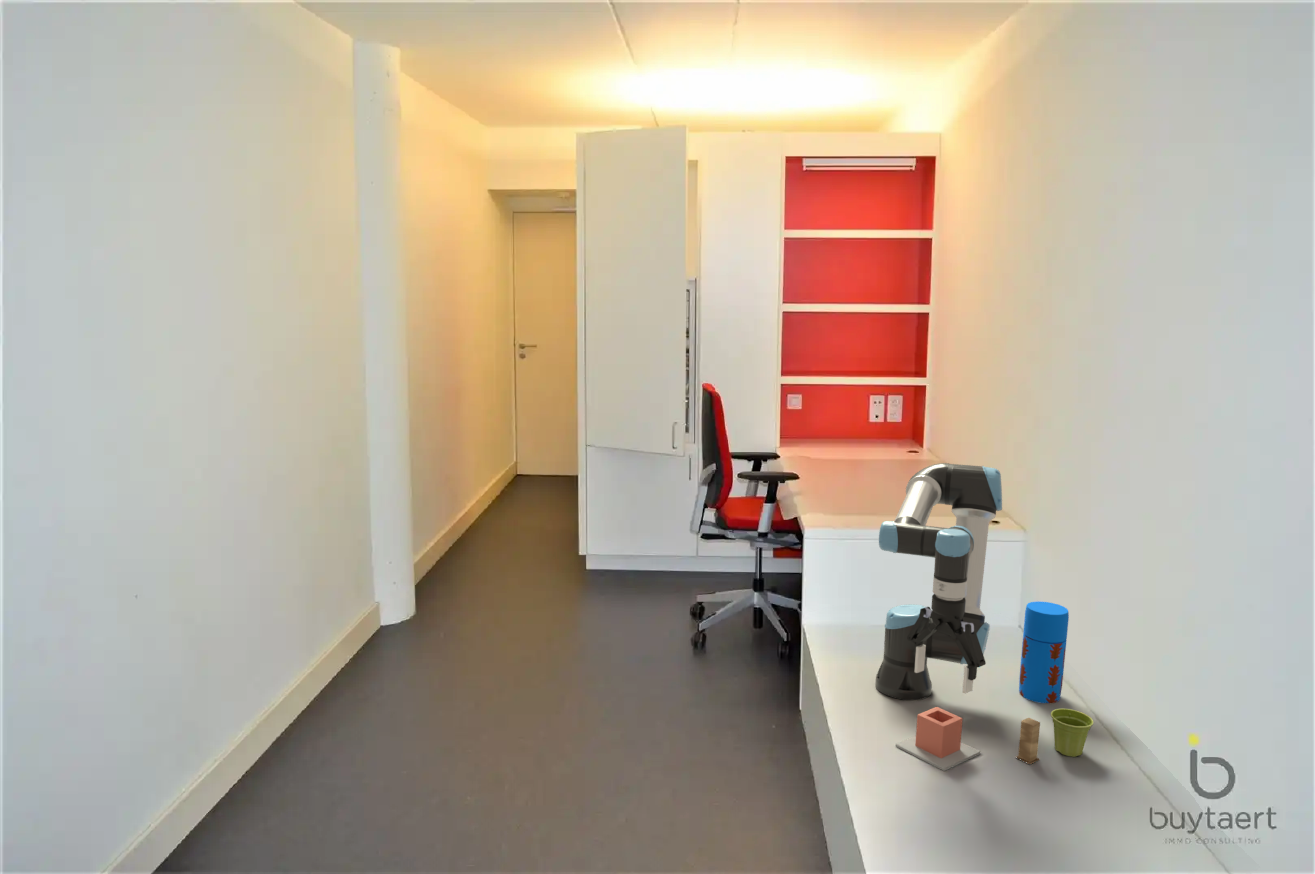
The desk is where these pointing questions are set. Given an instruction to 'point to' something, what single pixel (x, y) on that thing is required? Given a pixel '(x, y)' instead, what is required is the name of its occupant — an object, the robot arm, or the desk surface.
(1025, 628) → the thermos
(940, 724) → the salmon square sleeve
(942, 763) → the coaster
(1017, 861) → the desk surface
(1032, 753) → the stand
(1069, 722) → the plant pot
